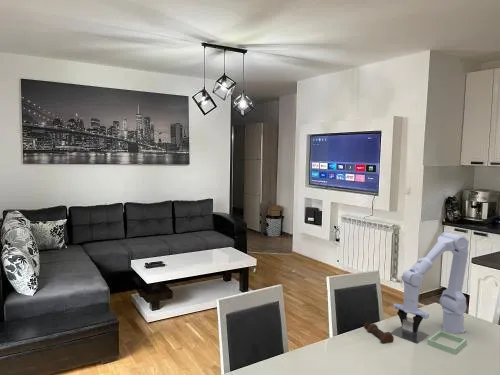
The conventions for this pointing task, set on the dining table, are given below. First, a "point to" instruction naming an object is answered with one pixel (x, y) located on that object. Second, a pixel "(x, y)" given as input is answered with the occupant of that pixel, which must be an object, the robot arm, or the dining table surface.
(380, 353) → the dining table surface
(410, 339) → the stud plate
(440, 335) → the parts tray
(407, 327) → the grey metal block
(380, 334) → the bolt
